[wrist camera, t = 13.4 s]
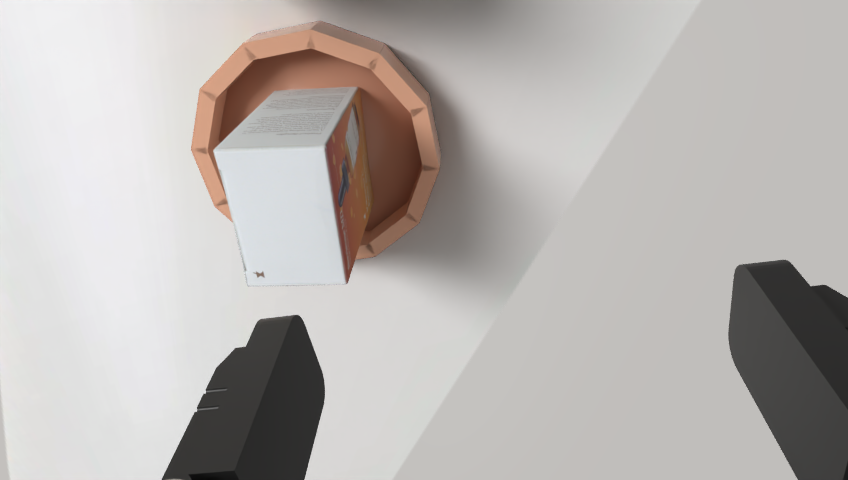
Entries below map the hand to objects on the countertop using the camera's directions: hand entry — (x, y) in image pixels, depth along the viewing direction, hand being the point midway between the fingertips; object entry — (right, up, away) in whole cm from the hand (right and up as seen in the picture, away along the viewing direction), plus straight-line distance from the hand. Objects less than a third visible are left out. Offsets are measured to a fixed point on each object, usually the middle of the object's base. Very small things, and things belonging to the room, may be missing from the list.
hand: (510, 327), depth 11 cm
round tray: (-8, +8, +28) cm, 30 cm away
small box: (-8, +8, +28) cm, 30 cm away
